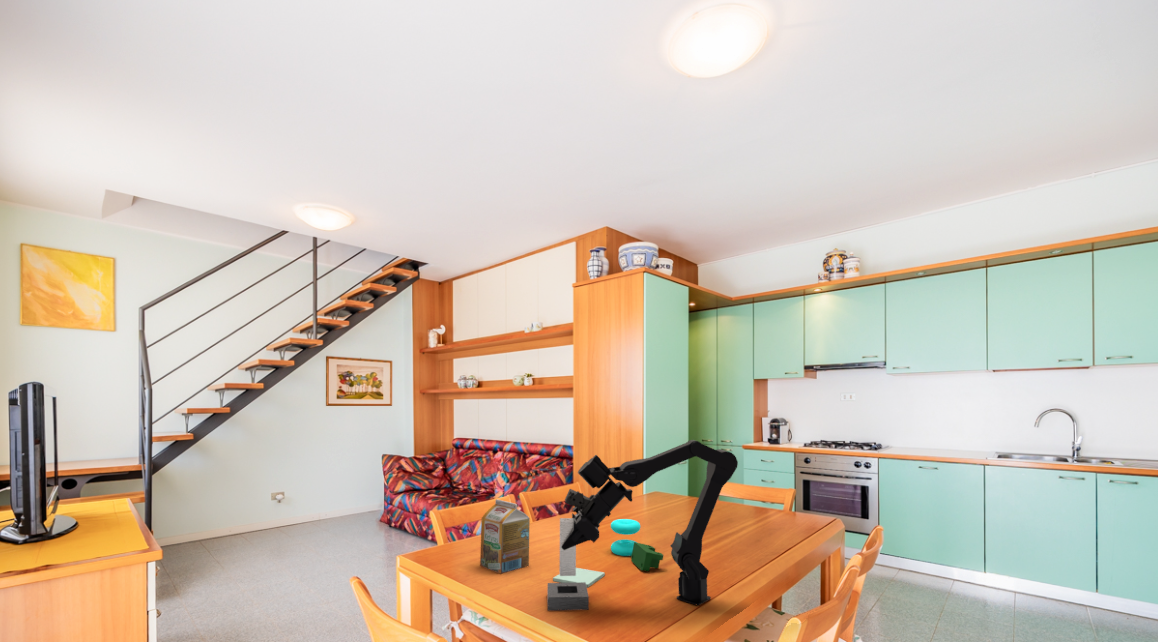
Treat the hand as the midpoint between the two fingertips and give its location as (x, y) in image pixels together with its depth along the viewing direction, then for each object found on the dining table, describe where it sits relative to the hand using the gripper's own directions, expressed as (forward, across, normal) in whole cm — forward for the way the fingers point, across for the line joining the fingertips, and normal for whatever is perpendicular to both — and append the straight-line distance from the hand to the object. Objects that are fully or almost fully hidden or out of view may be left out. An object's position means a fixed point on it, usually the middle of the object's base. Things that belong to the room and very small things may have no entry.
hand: (562, 546), depth 134 cm
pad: (+6, -18, +13) cm, 23 cm away
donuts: (-6, -42, +26) cm, 49 cm away
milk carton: (+22, -30, -2) cm, 37 cm away
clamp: (-9, -27, +29) cm, 41 cm away
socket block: (+9, 0, +10) cm, 14 cm away
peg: (+4, 0, +6) cm, 7 cm away
